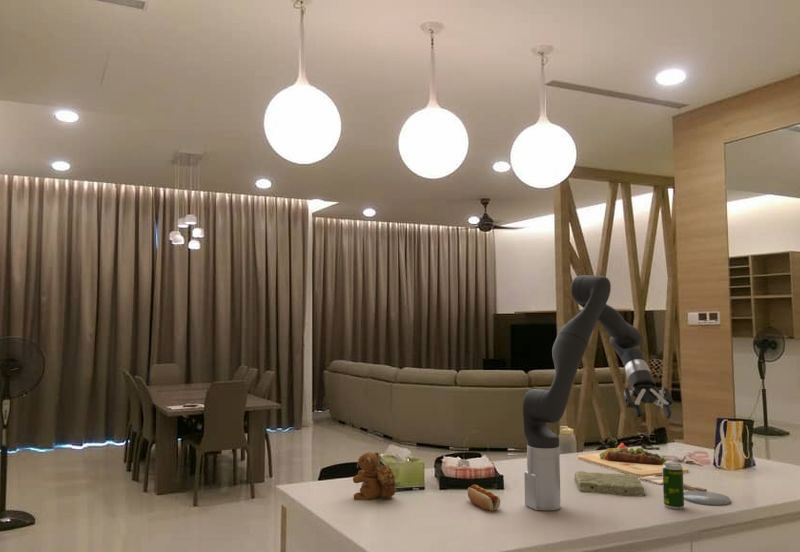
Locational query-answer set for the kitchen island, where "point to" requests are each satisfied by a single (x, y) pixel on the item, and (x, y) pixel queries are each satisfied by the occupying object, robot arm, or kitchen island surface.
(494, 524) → the kitchen island surface
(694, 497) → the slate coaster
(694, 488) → the beech turner
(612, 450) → the cutting board
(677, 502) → the beer can
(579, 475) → the decorative tile
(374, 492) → the stuffed squirrel
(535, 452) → the robot arm
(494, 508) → the food
